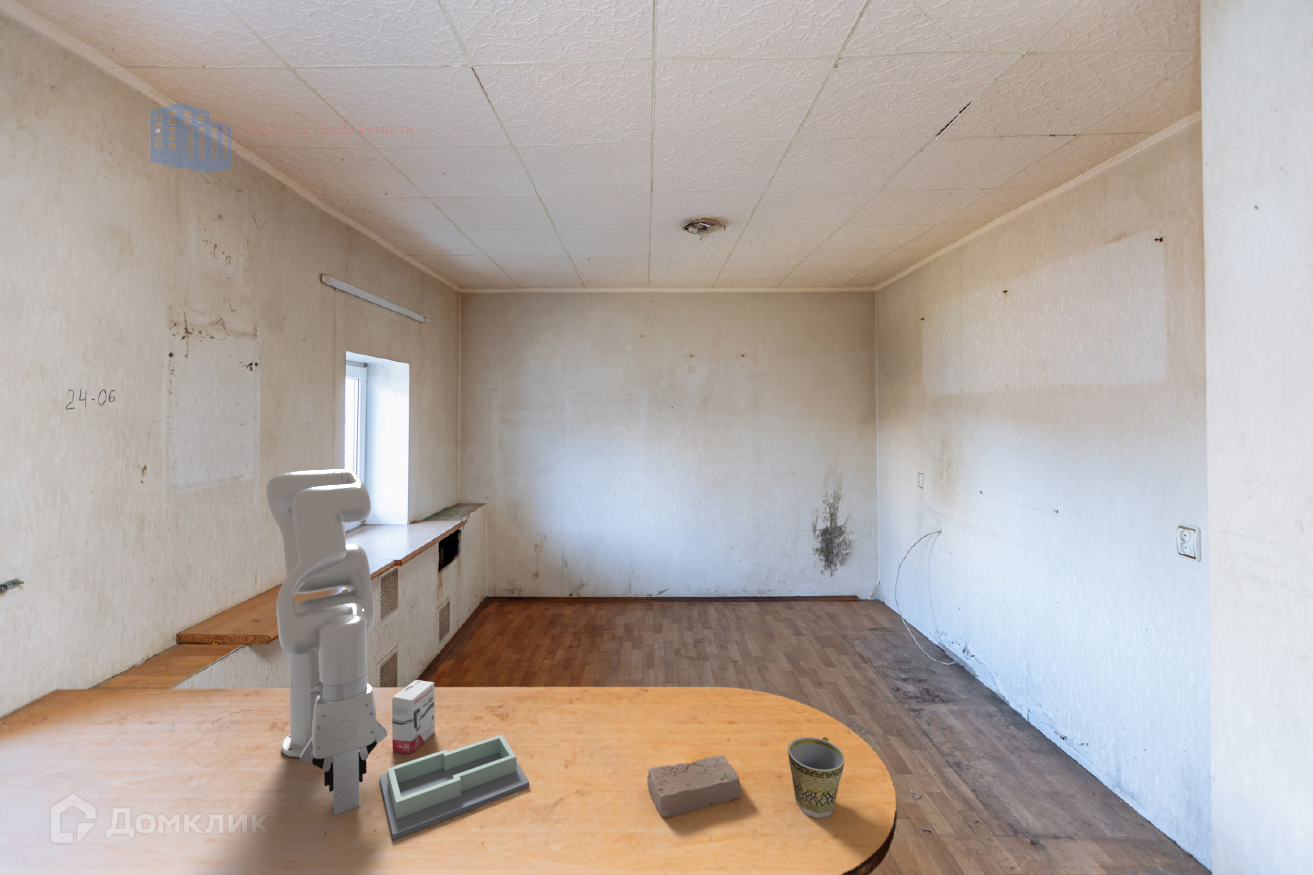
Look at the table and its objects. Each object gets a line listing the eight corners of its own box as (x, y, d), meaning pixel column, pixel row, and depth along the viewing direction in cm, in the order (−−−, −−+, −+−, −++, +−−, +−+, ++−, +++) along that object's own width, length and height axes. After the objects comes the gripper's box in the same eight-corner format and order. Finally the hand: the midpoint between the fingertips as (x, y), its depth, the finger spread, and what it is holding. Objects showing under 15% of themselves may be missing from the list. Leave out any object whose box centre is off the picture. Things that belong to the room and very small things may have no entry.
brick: (723, 772, 110) (723, 749, 110) (743, 799, 102) (743, 775, 102) (645, 791, 104) (645, 767, 104) (660, 822, 96) (660, 796, 96)
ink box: (411, 754, 114) (410, 700, 114) (391, 751, 115) (390, 697, 115) (436, 731, 123) (435, 680, 122) (417, 728, 124) (416, 678, 123)
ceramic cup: (835, 833, 93) (837, 777, 93) (779, 811, 99) (780, 757, 98) (852, 790, 104) (853, 739, 104) (801, 771, 110) (802, 723, 109)
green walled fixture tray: (379, 780, 106) (379, 760, 106) (500, 740, 120) (500, 722, 119) (392, 840, 91) (392, 817, 91) (529, 786, 105) (529, 766, 104)
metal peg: (333, 802, 100) (331, 739, 100) (357, 793, 102) (356, 732, 102) (334, 815, 97) (332, 750, 96) (359, 806, 99) (358, 742, 99)
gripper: (288, 708, 91) (290, 813, 92) (397, 681, 100) (398, 777, 101) (289, 689, 97) (291, 788, 98) (391, 666, 107) (392, 756, 107)
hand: (345, 781), depth 100 cm, fingers closed on metal peg, 4 cm apart
